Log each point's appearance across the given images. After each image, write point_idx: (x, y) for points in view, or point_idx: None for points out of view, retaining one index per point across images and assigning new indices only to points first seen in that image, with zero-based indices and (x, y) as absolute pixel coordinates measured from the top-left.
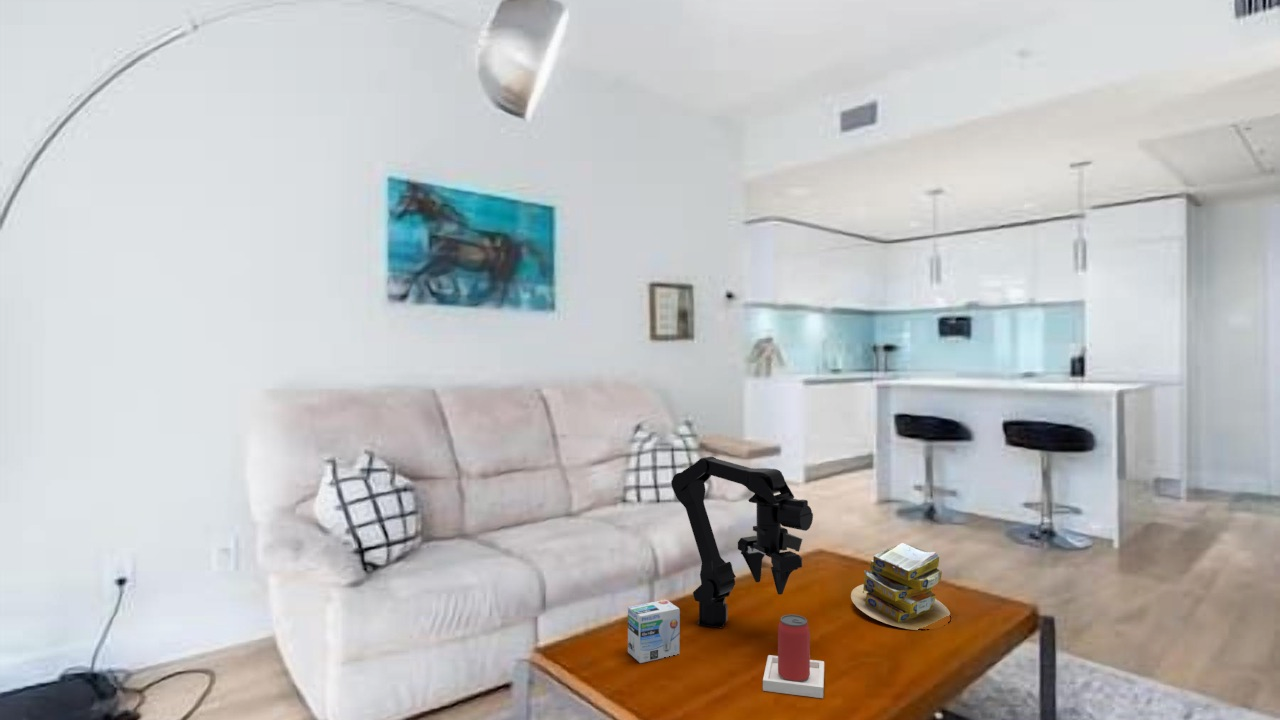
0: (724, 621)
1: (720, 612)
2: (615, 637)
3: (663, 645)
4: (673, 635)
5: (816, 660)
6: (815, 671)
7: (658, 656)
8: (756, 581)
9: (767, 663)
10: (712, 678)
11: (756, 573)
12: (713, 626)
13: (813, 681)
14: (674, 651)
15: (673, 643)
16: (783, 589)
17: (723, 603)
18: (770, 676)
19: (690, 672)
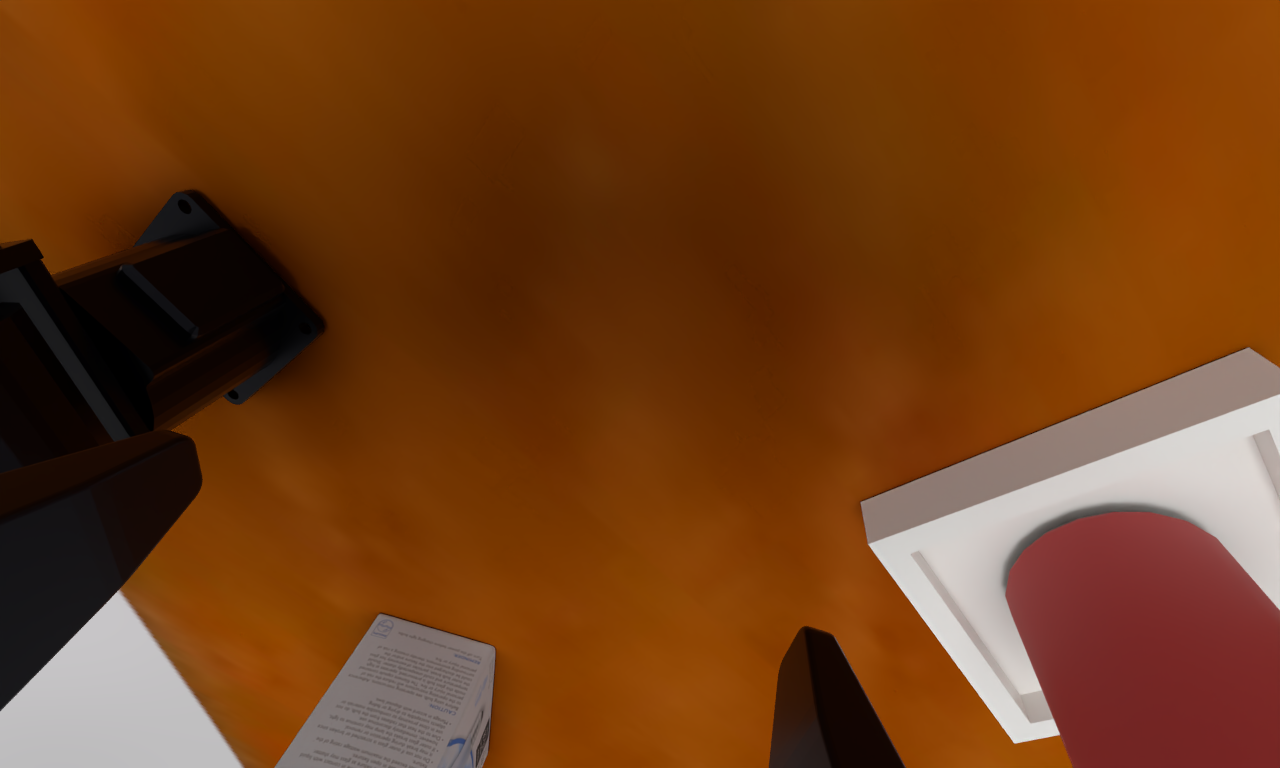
0: (275, 296)
1: (219, 345)
2: (251, 671)
3: (471, 749)
4: (454, 755)
5: (1231, 414)
6: (1227, 459)
7: (487, 720)
8: (190, 499)
9: (931, 620)
10: (748, 713)
11: (48, 596)
12: (292, 359)
13: (1262, 563)
14: (488, 680)
15: (472, 717)
16: (871, 723)
17: (162, 357)
18: (987, 642)
19: (651, 718)
